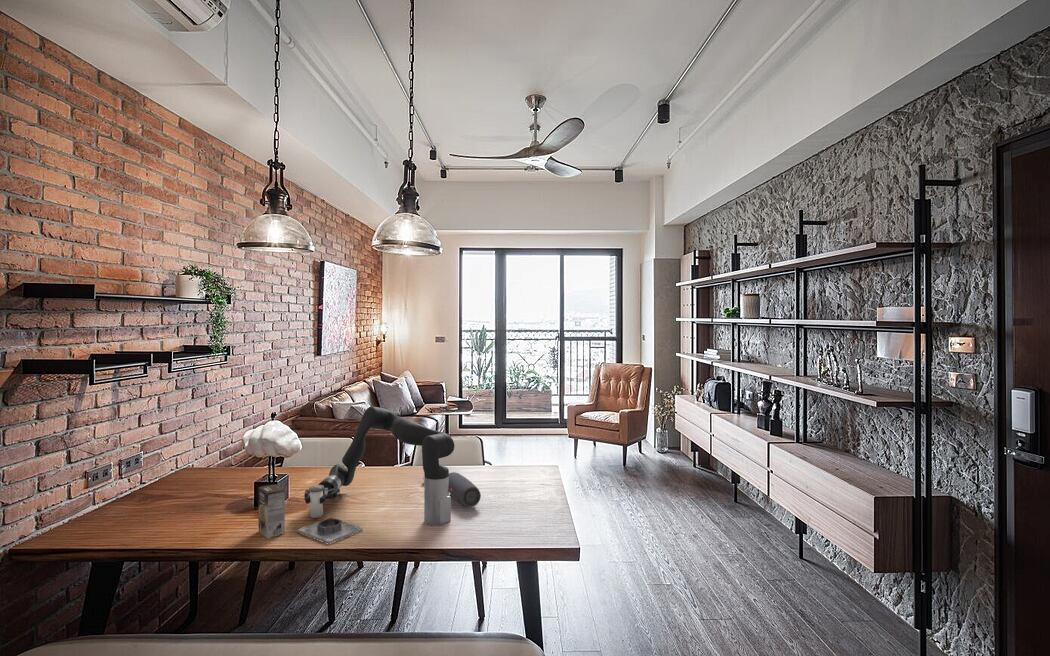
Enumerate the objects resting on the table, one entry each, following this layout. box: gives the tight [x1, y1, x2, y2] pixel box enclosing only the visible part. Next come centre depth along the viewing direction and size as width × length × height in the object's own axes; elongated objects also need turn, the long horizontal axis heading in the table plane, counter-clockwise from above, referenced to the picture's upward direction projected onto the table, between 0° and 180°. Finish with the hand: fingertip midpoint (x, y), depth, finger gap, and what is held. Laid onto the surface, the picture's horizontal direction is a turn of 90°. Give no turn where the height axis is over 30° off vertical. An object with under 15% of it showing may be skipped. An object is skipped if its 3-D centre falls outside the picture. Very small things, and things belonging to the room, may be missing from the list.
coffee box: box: [257, 483, 286, 539], centre depth 188 cm, size 9×6×16 cm
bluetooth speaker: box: [449, 471, 482, 508], centre depth 222 cm, size 23×9×10 cm, turn 27°
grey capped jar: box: [308, 484, 324, 519], centre depth 201 cm, size 5×5×11 cm
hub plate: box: [296, 516, 363, 545], centre depth 189 cm, size 18×14×3 cm
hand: (314, 501), depth 199 cm, fingers closed on grey capped jar, 4 cm apart
